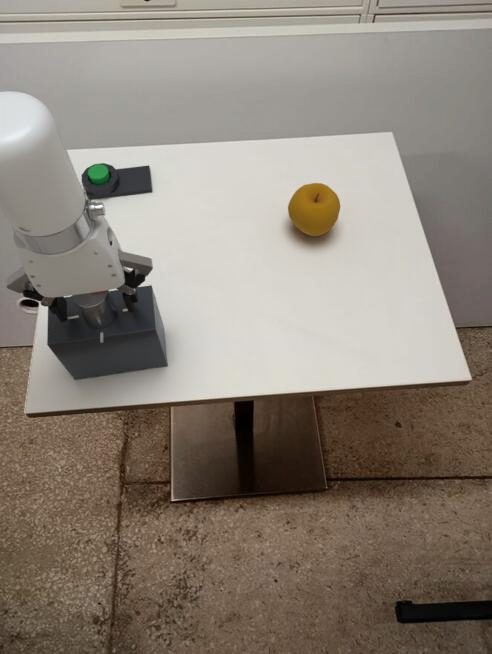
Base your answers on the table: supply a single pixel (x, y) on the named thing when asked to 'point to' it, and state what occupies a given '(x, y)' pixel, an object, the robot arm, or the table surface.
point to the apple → (314, 209)
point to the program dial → (96, 308)
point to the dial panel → (110, 338)
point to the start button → (98, 174)
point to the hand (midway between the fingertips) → (97, 307)
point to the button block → (119, 182)
